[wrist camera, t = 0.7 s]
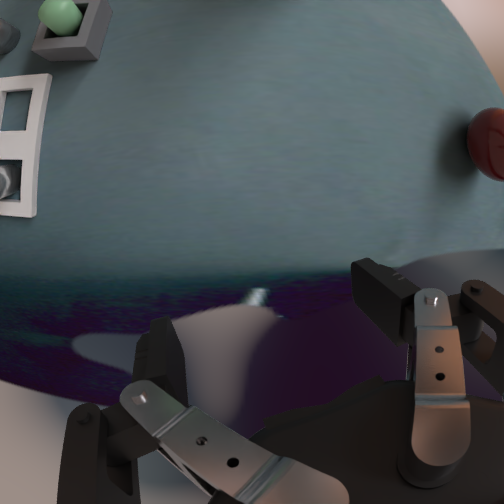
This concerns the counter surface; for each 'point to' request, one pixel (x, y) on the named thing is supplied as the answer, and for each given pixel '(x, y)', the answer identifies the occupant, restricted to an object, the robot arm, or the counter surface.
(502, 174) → the round-bottom flask
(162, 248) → the counter surface
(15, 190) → the seated billet
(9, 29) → the cylinder
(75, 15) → the button
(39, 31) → the grey square holder
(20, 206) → the grey flat frame
